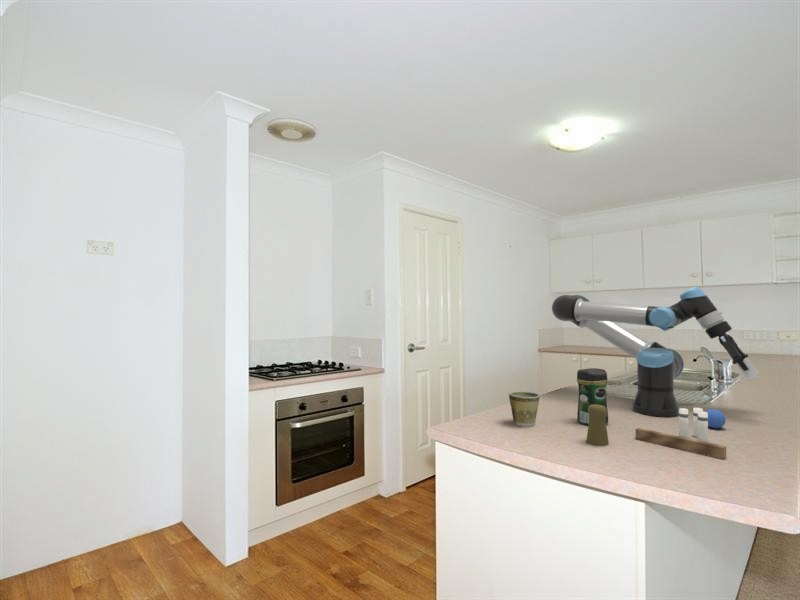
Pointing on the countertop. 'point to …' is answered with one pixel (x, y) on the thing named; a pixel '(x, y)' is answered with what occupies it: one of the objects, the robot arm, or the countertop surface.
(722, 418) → the ball
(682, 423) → the pin back left
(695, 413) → the pin front
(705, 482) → the countertop surface
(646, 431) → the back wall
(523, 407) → the ceramic cup
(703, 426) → the pin back right
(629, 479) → the countertop surface
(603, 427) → the olive tall tapered piece
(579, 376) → the coffee jar
